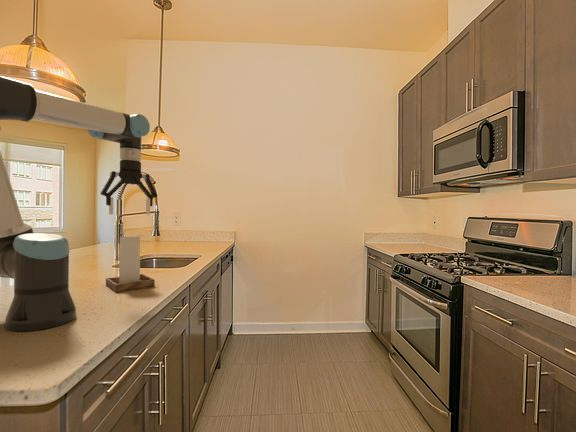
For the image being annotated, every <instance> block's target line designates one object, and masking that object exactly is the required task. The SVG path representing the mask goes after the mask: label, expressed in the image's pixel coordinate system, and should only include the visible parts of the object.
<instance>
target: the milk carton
mask: <svg viewBox="0 0 576 432" xmlns="http://www.w3.org/2000/svg"><path fill="white" fill-rule="evenodd" d="M118 251H119V254H118V258H119V259H118V261H119V262H118V263H119V264H118V265H119V266H118V267H119V269H118V273H119V274H118V277H119V284H122V283H130V282H137V281H140V274H141V236H119V247H118Z"/></svg>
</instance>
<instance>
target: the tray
mask: <svg viewBox="0 0 576 432" xmlns="http://www.w3.org/2000/svg"><path fill="white" fill-rule="evenodd" d="M155 283H156V282H155V279H154V278H153V277H150V276H148V275H146V274H144V273H140V281H137V282H130V283H122V284H119V276H114V277H105V286H106V287H107V288H109V289H110V290H111V291H112V292H114V293H121V292H127V291H133V290H142V289H147V288H154V287H156V286H155Z"/></svg>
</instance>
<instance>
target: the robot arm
mask: <svg viewBox="0 0 576 432" xmlns="http://www.w3.org/2000/svg"><path fill="white" fill-rule="evenodd" d="M32 120H37V121H42V122H48V123H53V124H59V125H64V126H69V127H74V128H79V129H85V130H87V132H88V134H89V135H90V136H91V137H92V138H95V139H98V140H104V141H106V142H108V141H109V142H113V143H117V144H119V159H120V161H119V171H115V170H113V171H111V172H110V174H109V178H108V179H107V181H106V183H105V184H104V187H103V188H102V190H101V192H100V195H101V196H103V197H105V198H106V199H105V204H106V206H108V214H109V215H114V197H113V195H114V194H115V193H116V192H117V191H118V190H119V189H120V188H121V187H122V185H124V184H125V185H134V186H135V185H136V186H137V187H139V189H140V190H141V191H142V193H144V195H145V196H146V197H147V198H146V199H145V215H151V207H153V203H154V202H153V200H154V198H157V197H158V194H157V192H156V189H155V188H154V186H153V182H151V178H150V177H151V176H150V174H148V173H145V174H142V162H141V161H142V138H143V137H145V136H147V135H148V134H149V132H150V130H151V126H150V122H149V120H148V118H147V117H146V116H145V115H143V114H140V113H133V114H128V113H124V112H121V111H116V110H112V109H109V108H106V107H102V106H97V105H95V104H94V105H93V104H90V103H86V102H83V101H79V100H75V99H70V98H67V97H63V96H59V95H56V94H54V93H53V94H52V93H49V92H44V91H41V90H37V89H36V88H35V86H33V85H32V84H31V83H28V82H23V81H20V80H18V79H17V80H16V79H12V78H10V77H6V76H2V75H0V121H21V122H27V123H28V122H29V123H30V122H31V121H32ZM1 132H2V129H1V127H0V133H1ZM117 177H119V181H118V182H116V184H115V185H114V186H113V187H112V188H111V189H110V187H111V186H112V184H113V183H114V181H115V178H117ZM141 179H143V180H144V181H145V184H146V185H147V187H146V186H145V184H143V182H142V181H141ZM147 188H148V189H147ZM109 189H110V190H109ZM69 254H70V245H69V240H68V239H67V238H66V237H65V236H64V235H61V234H54V233H50V234H49V233H43V232H39V233H36V232H35V233H34V230H33V227H32V225H29V224H27V223H25V222H24V220H23V217H22V214H21V211H20V208H19V206H18V202H17V198H16V196H15V193H14V190H13V187H12V184H11V180H10V177H9V173H8V170H7V168H6V165H5V161H4V158H3V156H2V151H1V150H0V278H5V279H8V278H9V279H13V286H14V287H13V288H14V289H13V299H12V301H11V303H10V306H9V309H8V311H7V314H6V315H5V318H4V320H5V321H4V322H5V323H4V328H5V329H6V330H7V331H11V332H31V331H39V330H45V329H51V328H53V327H59V326H61V325H64V324H67V323H69V322H71V321H73V320H74V319H75V318H76V317H77V307H76V305H75V303H74V300H73V297H72V295H71V293H70V290H69V289H70V288H69V287H70V286H69V282H70V280H69V279H70V278H69V273H70V272H69V271H70V270H69V267H70V266H69V264H70V260H69V257H70V256H69Z"/></svg>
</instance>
